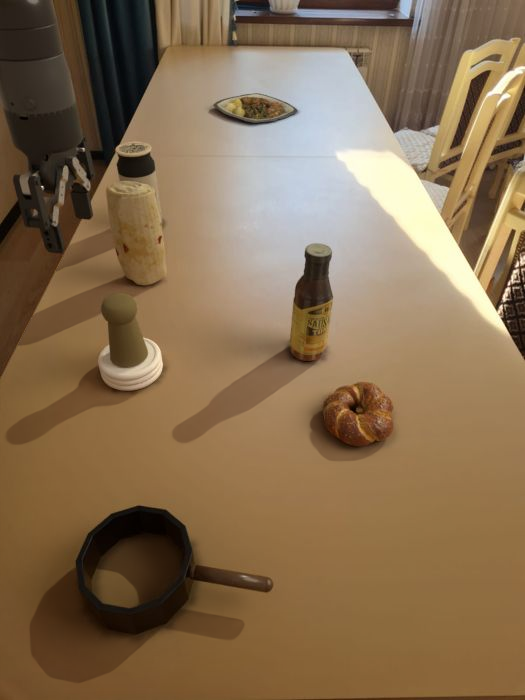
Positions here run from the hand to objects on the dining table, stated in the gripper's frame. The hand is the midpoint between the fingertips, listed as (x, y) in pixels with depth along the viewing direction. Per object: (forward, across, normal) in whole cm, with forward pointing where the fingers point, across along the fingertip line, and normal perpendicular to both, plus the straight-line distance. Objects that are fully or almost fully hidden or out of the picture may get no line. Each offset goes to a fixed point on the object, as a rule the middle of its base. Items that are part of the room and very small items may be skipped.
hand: (71, 234), depth 69 cm
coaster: (+27, -4, +3) cm, 28 cm away
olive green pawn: (+24, -4, +3) cm, 24 cm away
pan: (+27, +29, +20) cm, 45 cm away
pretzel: (+27, 0, +40) cm, 48 cm away
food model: (+27, -30, -4) cm, 41 cm away
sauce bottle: (+27, -14, +31) cm, 43 cm away
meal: (+27, -134, +1) cm, 136 cm away
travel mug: (+27, -51, -11) cm, 59 cm away
